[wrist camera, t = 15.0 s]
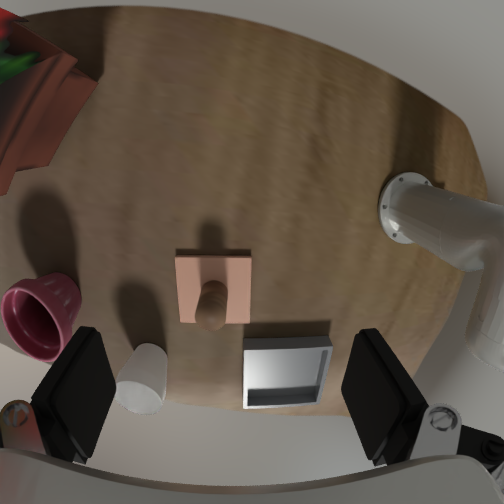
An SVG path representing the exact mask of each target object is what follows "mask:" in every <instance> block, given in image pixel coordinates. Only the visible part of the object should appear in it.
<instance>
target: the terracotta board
mask: <svg viewBox="0 0 504 504" xmlns="http://www.w3.org/2000/svg"><path fill="white" fill-rule="evenodd" d="M175 265H176V278H177V290H178V302H179V312H180V321H181V322H188V323H196V321H195V312H196V308H197V304H198V300H199V296H200V293H201V289H202V286H203V285H204V284H205V283H206V282H208V281H211V280H217V281H220V282H222V283H223V284H224V285H225V286H226V287H227V290H228V300H227V313H226V322H225V323H250V293H251V256H213V255H176V256H175Z"/></svg>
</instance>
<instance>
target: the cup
mask: <svg viewBox="0 0 504 504" xmlns="http://www.w3.org/2000/svg"><path fill="white" fill-rule="evenodd" d="M166 379H167V355H166V353H165V352H164V350H163V349H162V348H160V347H159V346H157V345H155V344H151V343H144V344H141V345H139V346H138V347H137V348H136V349H135V351H134V352H133V354H132V355H131V356H130V358H129V359H128V361H127V362H126V363H125V365H124V366H123V368H122V369H121V371H120V372H119V374H118V375H117V378H116V381H115V382H116V393H115V396H114V397H115V399H116V401H117V402H118V403H119V404H120V405H121V406H122V407H124V408H125V409H127V410H129V411H131V412H133V413H137V414H141V415H151V414H155V413H157V412H158V411H159V410H160V409H161V407H162V404H163V401H164V398H165V395H166Z"/></svg>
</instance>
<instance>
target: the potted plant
mask: <svg viewBox="0 0 504 504" xmlns="http://www.w3.org/2000/svg"><path fill="white" fill-rule="evenodd" d="M16 21H19V22H29V21H28V20H26V19H24V18H22V17H20V16H17V15H15V14H13V13H11V12H9V11H7V10H4V9H2V8H0V196H2V195H5V194H7V191H8V189H9V186H10V184H11V181H12V179H13V176H14V174H15V172H17V171H22V170H27V169H32V168H38V167H44V166H48V165H49V163H50V161H51V159H52V158H53V156H54V154H55V152H56V150H57V148H58V146H59V145H60V143H61V141H62V139H63V138H64V136H65V134H66V132H67V131H68V129H69V127H70V126H71V124H72V122H73V121H74V119H75V118H76V116H77V114H78V113H79V111H80V110H81V108H82V107H83V105H84V104H85V102H86V101H87V99H88V98H89V96H90V95H91V93H92V92H93V91H94V89H95V88H96V86H97V85H98V84H99V83H98V82H96V81H95V80H93V79H92V78H90V77H89V76H87V75H86V74H85V73H83V72H82V71H80V70H79V69H77V68H76V67H74V66H75V65H76V63H77V62H78V59H76V58H75V57H73V56H72V55H70V54H69V53H67V52H66V51H64V50H62V49H61V48H59V47H58V46H56V45H55V44H53V43H51V42H50V41H48V40H47V39H45V38H43V37H42V36H40V35H38V34H37V33H35V32H33V31H32V30H30V29H28V28H27V27H25V26H23V25H22V24H20V23H18V22H16Z"/></svg>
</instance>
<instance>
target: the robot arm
mask: <svg viewBox="0 0 504 504" xmlns="http://www.w3.org/2000/svg"><path fill="white" fill-rule="evenodd" d="M399 178H400V180H399ZM378 216H379V221H380V224H381V227H382V229H383V230H384V232H385V233H386V234H387V235H388V236H389V237H390V238H391V239H393V240H394V241H396V242H398V243H402V244H410V243H414V242H415V243H417V244H418V245H420V246H422V247H423V248H425V249H427V250H428V251H430V252H431V253H433V254H435V255H436V256H438V257H439V258H441V259H443V260H444V261H446V262H447V263H449V264H451V265H452V266H454V267H455V268H457V269H460V270H463V271H475V270H479V269H482V268H484V270H483V274H482V278H481V283H480V286H479V290H478V293H477V296H476V299H475V302H474V305H473V308H472V311H471V314H470V318H469V320H468V324H467V327H466V332H465V340H466V344H467V347H468V348H469V350H470V352H471V353H472V354H473V355H474V356H475V357H476V358H478V359H479V360H480V361H482V362H483V363H485V364H487V365H488V366H490V367H492V368H495V369H497V370H499V371H501V372H503V373H504V206H501V205H496V204H493V203H489V202H485V201H482V200H479V199H475V198H472V197H469V196H465V195H462V194H459V193H455V192H452V191H448V190H444V189H441V188H437V187H433V185H432V184H431V183H430V181H429V180H428V179H427V178H426V177H424V176H422V175H421V174H418V173H414V172H403V173H400V174H398V175H396V176H395V177H393V178H392V179H391V180H390V181H389V182H388V183H387V184H386V186H385V187H384V189H383V191H382V193H381V196H380V199H379V205H378ZM341 391H342V395H343V398H344V400H345V403H346V405H347V408H348V410H349V413H350V415H351V418H352V420H353V422H354V425H355V428H356V430H357V433H358V435H359V438H360V440H361V443H362V446H363V448H364V451H365V454H366V456H367V458H368V460H372V461H373V464H374V466H378V465H382V464H387V466H384V467H380V468H376V469H372V470H368V471H363V472H358V473H354V474H349V475H344V476H339V477H333V478H327V479H321V480H314V481H307V482H298V483H288V484H276V485H260V486H206V485H190V484H179V483H169V482H161V481H153V480H147V479H140V478H134V477H129V476H124V475H119V474H114V473H110V472H105V471H101V470H97V469H92V468H89V467H85V466H81V465H78V464H74V463H72V462H73V461H75V462H79V463H82V464H86V461H87V459H88V458H91V457H92V454H93V452H94V449H95V446H96V443H97V441H98V438H99V435H100V432H101V430H102V427H103V424H104V421H105V419H106V416H107V414H108V411H109V408H110V406H111V403H112V401H113V398H114V396H115V393H116V382H115V379H114V377H113V374H112V370H111V367H110V364H109V361H108V358H107V354H106V351H105V348H104V344H103V341H102V337H101V334H100V332H97V330H96V329H95V328H94V327H85V326H80V327H79V328H78V330H77V331H76V332H75V334H74V335H73V336H72V338H71V339H70V341H69V342H68V343H67V345H66V346H65V348H64V349H63V350H62V352H61V353H60V355H59V356H58V358H57V359H56V360H55V362H54V363H53V365H52V366H51V368H50V369H49V371H48V372H47V374H46V375H45V377H44V378H43V380H42V381H41V383H40V384H39V386H38V387H37V389H36V390H35V392H34V394H33V395H32V397H31V399H32V401H31V403H30V404H29V403H28V402H26V401H24V400H14V401H11V402H9V403H7V404H6V405H5V406H4V407H3V409H2V410H1V412H0V504H504V440H503V439H502V438H501V437H499V436H497V435H494V434H491V433H487V432H484V431H481V430H477V429H474V428H471V427H468V426H464V425H461V424H462V423H461V416H460V414H459V413H458V411H457V410H456V409H454V408H453V407H451V406H450V405H447V404H441V403H438V404H434V405H431V406H430V407H429V405H428V404H427V402H426V400H425V399H424V397H423V395H422V394H421V392H420V391H419V389H418V388H417V386H416V385H415V383H414V382H413V380H412V379H411V377H410V376H409V374H408V373H407V371H406V370H405V368H404V367H403V365H402V364H401V363H400V361H399V360H398V358H397V357H396V355H395V354H394V352H393V351H392V350H391V348H390V347H389V345H388V344H387V343H386V341H385V340H384V338H383V337H382V335H381V334H380V333H379V331H378V330H377V329H376V328H371V329H362V330H360V332H359V333H358V334H356V335H355V337H354V342H353V346H352V349H351V353H350V357H349V361H348V365H347V368H346V372H345V375H344V379H343V382H342V386H341Z"/></svg>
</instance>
